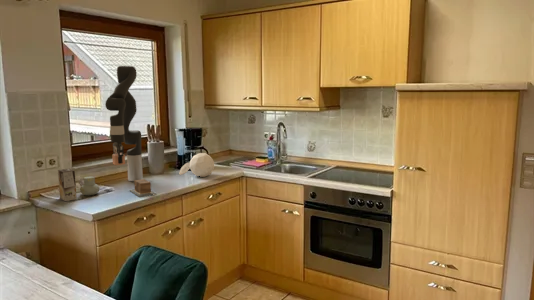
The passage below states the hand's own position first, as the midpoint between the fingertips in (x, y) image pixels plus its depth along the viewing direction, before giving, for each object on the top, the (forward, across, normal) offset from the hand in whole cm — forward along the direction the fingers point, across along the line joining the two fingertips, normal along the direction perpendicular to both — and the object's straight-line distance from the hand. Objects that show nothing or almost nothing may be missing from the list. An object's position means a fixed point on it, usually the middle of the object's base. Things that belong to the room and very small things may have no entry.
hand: (118, 162), depth 232 cm
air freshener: (+19, +8, +15) cm, 25 cm away
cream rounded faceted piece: (+19, +20, -58) cm, 64 cm away
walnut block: (+17, -6, -11) cm, 21 cm away
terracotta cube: (+1, 0, 0) cm, 1 cm away
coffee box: (+18, +5, +27) cm, 33 cm away
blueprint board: (+18, -6, -11) cm, 22 cm away
